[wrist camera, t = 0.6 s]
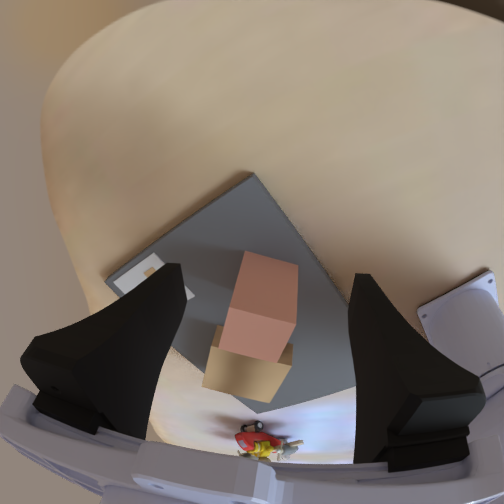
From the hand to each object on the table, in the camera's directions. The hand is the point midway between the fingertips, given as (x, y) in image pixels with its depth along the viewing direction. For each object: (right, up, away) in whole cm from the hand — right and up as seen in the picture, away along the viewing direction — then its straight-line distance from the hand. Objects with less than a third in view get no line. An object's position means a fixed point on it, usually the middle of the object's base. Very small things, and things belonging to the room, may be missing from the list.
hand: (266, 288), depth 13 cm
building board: (0, -6, +16) cm, 17 cm away
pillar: (0, -1, +11) cm, 11 cm away
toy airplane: (+2, -24, +28) cm, 37 cm away
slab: (-1, -9, +17) cm, 19 cm away
